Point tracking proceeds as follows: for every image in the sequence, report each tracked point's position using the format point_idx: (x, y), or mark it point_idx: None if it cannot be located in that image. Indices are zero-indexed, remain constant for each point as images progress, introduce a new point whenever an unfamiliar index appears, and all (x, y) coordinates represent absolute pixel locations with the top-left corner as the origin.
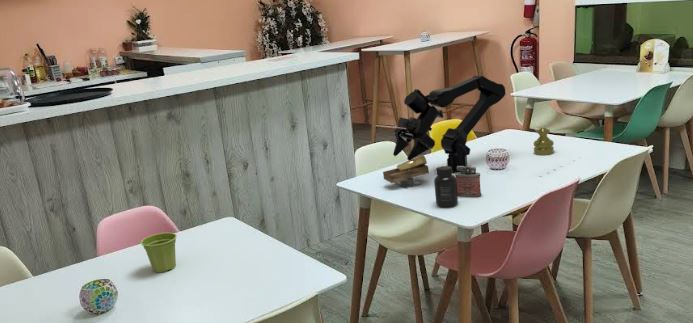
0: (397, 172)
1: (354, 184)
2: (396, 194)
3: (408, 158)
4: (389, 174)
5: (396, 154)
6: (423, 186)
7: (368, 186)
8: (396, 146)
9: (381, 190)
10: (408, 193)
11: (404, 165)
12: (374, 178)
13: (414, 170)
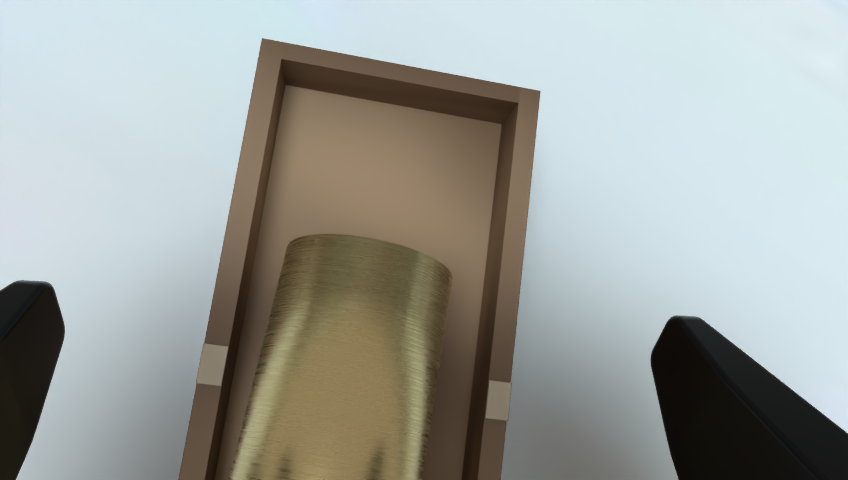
0: (480, 312)
1: (786, 4)
2: (134, 62)
3: (3, 299)
4: (341, 63)
5: (668, 391)
6: (112, 451)
7: (622, 49)
8: (836, 472)
9: (394, 49)
10: (44, 167)
11: (290, 327)
12: (820, 256)
13: (185, 449)
